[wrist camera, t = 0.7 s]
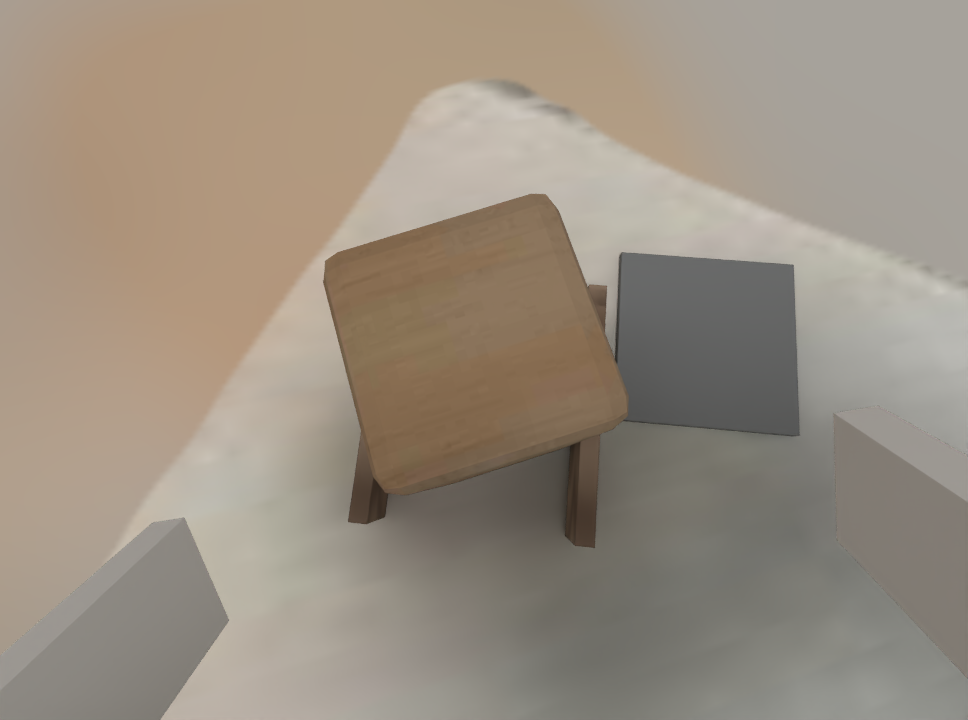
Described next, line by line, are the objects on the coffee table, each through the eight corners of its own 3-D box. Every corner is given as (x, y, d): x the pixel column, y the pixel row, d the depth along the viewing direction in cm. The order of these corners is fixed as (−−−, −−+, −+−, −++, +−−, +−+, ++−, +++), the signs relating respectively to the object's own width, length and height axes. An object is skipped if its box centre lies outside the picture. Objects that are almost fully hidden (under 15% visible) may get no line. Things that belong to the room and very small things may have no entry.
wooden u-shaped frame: (582, 537, 36) (594, 547, 31) (368, 515, 37) (347, 522, 32) (594, 308, 40) (606, 285, 35) (398, 293, 40) (384, 268, 36)
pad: (793, 436, 37) (799, 435, 36) (612, 419, 38) (615, 418, 37) (787, 268, 40) (793, 264, 39) (619, 256, 40) (621, 252, 40)
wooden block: (404, 359, 39) (308, 250, 20) (528, 321, 40) (553, 176, 20) (440, 487, 37) (373, 505, 18) (570, 445, 38) (645, 418, 18)
